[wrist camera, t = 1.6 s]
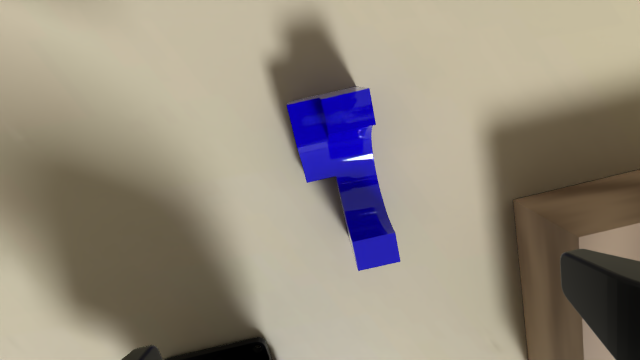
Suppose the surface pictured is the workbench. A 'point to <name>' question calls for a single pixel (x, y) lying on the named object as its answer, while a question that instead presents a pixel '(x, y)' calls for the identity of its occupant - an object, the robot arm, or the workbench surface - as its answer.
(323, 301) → the workbench surface
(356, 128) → the cable holder
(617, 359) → the robot arm
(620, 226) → the plate
